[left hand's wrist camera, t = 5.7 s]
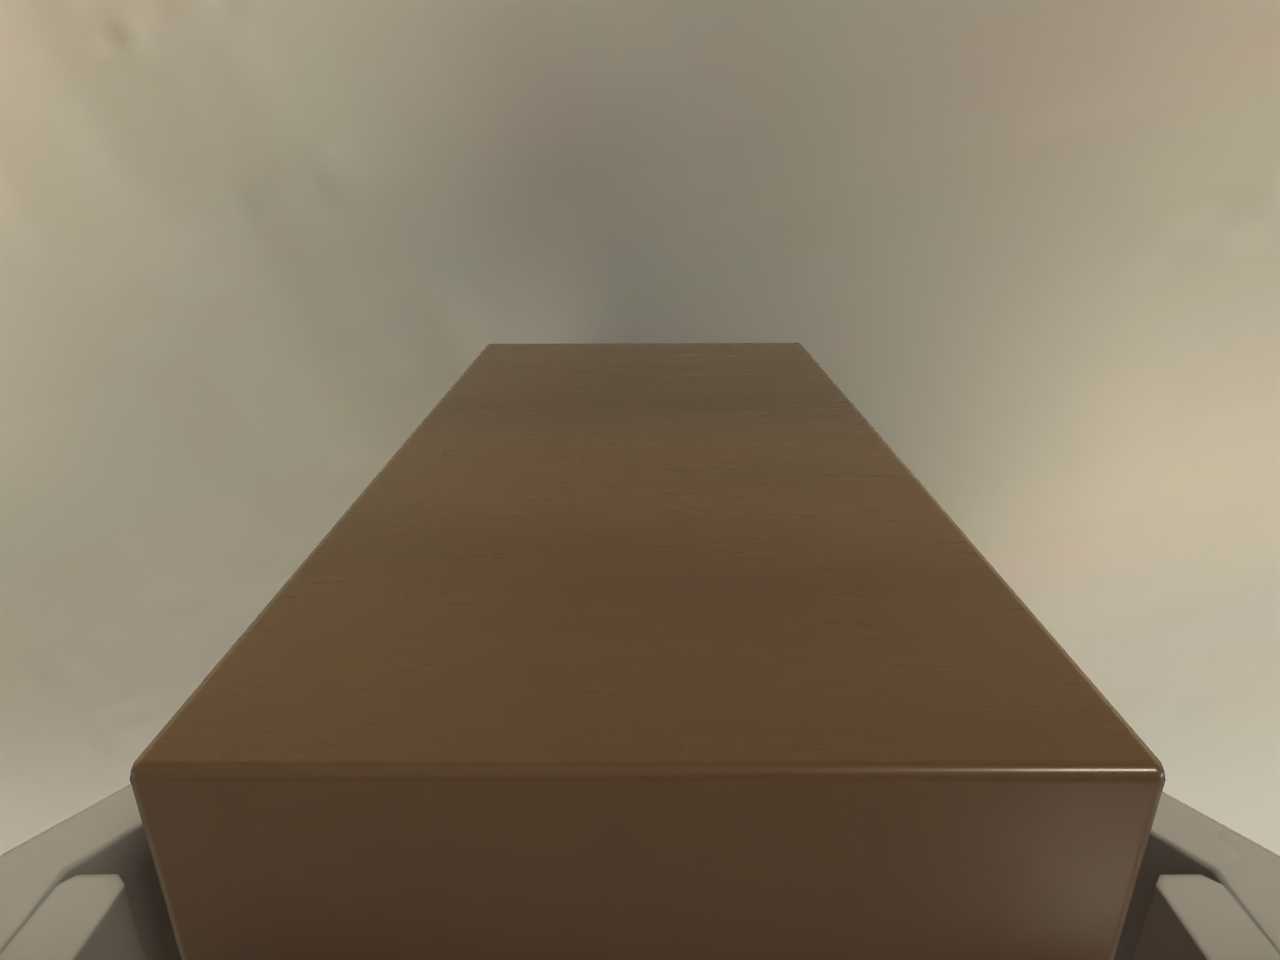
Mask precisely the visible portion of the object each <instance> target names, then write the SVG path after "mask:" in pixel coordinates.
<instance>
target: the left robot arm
mask: <svg viewBox="0 0 1280 960" xmlns="http://www.w3.org/2000/svg"><path fill="white" fill-rule="evenodd" d="M0 960H181V956H180V953H179V949H178V946H177V942H176V939H175V935H174V932H173V928H172V925H171V921H170V918H169V914H168V911H167V907H166V904H165V900H164V897H163V893H162V890H161V886H160V883H159V879H158V876H157V872H156V869H155V865H154V862H153V859H152V855H151V852H150V848H149V845H148V841H147V838H146V834H145V831H144V827H143V824H142V820H141V817H140V813H139V810H138V806H137V803H136V799H135V796H134V792H133V789H132V785H131V784H130V785H129V786H127V787H125V788H123V789H121V790H119V791H118V792H116V793H114V794H112V795H110V796H108V797H107V798H105V799H103V800H101V801H99V802H97V803H96V804H94V805H92V806H90V807H88V808H86V809H85V810H83V811H81V812H79V813H77V814H76V815H74V816H72V817H70V818H68V819H66V820H65V821H63V822H61V823H59V824H57V825H55V826H54V827H52V828H50V829H48V830H46V831H44V832H43V833H41V834H39V835H37V836H35V837H34V838H32V839H30V840H28V841H26V842H24V843H23V844H21V845H19V846H17V847H15V848H13V849H12V850H10V851H8V852H6V853H4V854H2V855H1V856H0ZM1114 960H1280V856H1279V855H1277V854H1275V853H1273V852H1271V851H1270V850H1268V849H1266V848H1264V847H1262V846H1260V845H1259V844H1257V843H1255V842H1253V841H1251V840H1250V839H1248V838H1246V837H1244V836H1242V835H1240V834H1239V833H1237V832H1235V831H1233V830H1231V829H1229V828H1228V827H1226V826H1224V825H1222V824H1220V823H1219V822H1217V821H1215V820H1213V819H1211V818H1209V817H1208V816H1206V815H1204V814H1202V813H1200V812H1199V811H1197V810H1195V809H1193V808H1191V807H1189V806H1188V805H1186V804H1184V803H1182V802H1180V801H1179V800H1177V799H1175V798H1173V797H1171V796H1169V795H1168V794H1166V793H1164V792H1162V793H1161V797H1160V800H1159V804H1158V807H1157V811H1156V814H1155V818H1154V821H1153V825H1152V828H1151V832H1150V835H1149V839H1148V842H1147V846H1146V849H1145V853H1144V856H1143V859H1142V863H1141V866H1140V870H1139V873H1138V877H1137V880H1136V884H1135V887H1134V891H1133V894H1132V898H1131V901H1130V905H1129V908H1128V912H1127V915H1126V919H1125V922H1124V925H1123V929H1122V932H1121V936H1120V939H1119V943H1118V946H1117V950H1116V953H1115V957H1114Z"/></svg>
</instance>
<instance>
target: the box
mask: <svg viewBox="0 0 1280 960" xmlns="http://www.w3.org/2000/svg"><path fill="white" fill-rule="evenodd" d="M130 782H131V785H132V789H133V792H134V796H135V799H136V803H137V806H138V810H139V813H140V817H141V820H142V824H143V827H144V831H145V834H146V838H147V841H148V845H149V848H150V852H151V855H152V859H153V862H154V865H155V869H156V872H157V876H158V879H159V883H160V886H161V890H162V893H163V897H164V900H165V904H166V907H167V911H168V914H169V918H170V921H171V925H172V928H173V932H174V935H175V939H176V942H177V946H178V949H179V953H180V956H181V960H1114V957H1115V953H1116V950H1117V946H1118V943H1119V939H1120V936H1121V932H1122V929H1123V925H1124V922H1125V919H1126V915H1127V912H1128V908H1129V905H1130V901H1131V898H1132V894H1133V891H1134V887H1135V884H1136V880H1137V877H1138V873H1139V870H1140V866H1141V863H1142V859H1143V856H1144V853H1145V849H1146V846H1147V842H1148V839H1149V835H1150V832H1151V828H1152V825H1153V821H1154V818H1155V814H1156V811H1157V807H1158V804H1159V800H1160V797H1161V793H1162V790H1163V786H1164V783H1165V774H1164V769H1163V766H1162V764H1161V762H1160V761H1159V760H1158V758H1157V757H1156V756H1155V755H1154V754H1153V753H1152V751H1151V750H1150V749H1149V748H1148V747H1147V746H1146V744H1145V743H1144V742H1143V741H1142V740H1141V739H1140V738H1139V736H1138V735H1137V734H1136V733H1135V732H1134V731H1133V729H1132V728H1131V727H1130V726H1129V725H1128V724H1127V722H1126V721H1125V720H1124V719H1123V718H1122V717H1121V715H1120V714H1119V713H1118V712H1117V711H1116V710H1115V709H1114V707H1113V706H1112V705H1111V704H1110V703H1109V702H1108V700H1107V699H1106V698H1105V697H1104V696H1103V695H1102V693H1101V692H1100V691H1099V690H1098V689H1097V688H1096V686H1095V685H1094V684H1093V683H1092V682H1091V681H1090V679H1089V678H1088V677H1087V676H1086V675H1085V674H1084V673H1083V671H1082V670H1081V669H1080V668H1079V667H1078V666H1077V664H1076V663H1075V662H1074V661H1073V660H1072V659H1071V657H1070V656H1069V655H1068V654H1067V653H1066V652H1065V650H1064V649H1063V648H1062V647H1061V646H1060V645H1059V643H1058V642H1057V641H1056V640H1055V639H1054V638H1053V637H1052V635H1051V634H1050V633H1049V632H1048V631H1047V630H1046V628H1045V627H1044V626H1043V625H1042V624H1041V623H1040V621H1039V620H1038V619H1037V618H1036V617H1035V616H1034V614H1033V613H1032V612H1031V611H1030V610H1029V609H1028V607H1027V606H1026V605H1025V604H1024V603H1023V602H1022V601H1021V599H1020V598H1019V597H1018V596H1017V595H1016V594H1015V592H1014V591H1013V590H1012V589H1011V588H1010V587H1009V585H1008V584H1007V583H1006V582H1005V581H1004V580H1003V578H1002V577H1001V576H1000V575H999V574H998V573H997V571H996V570H995V569H994V568H993V567H992V566H991V565H990V563H989V562H988V561H987V560H986V559H985V558H984V556H983V555H982V554H981V553H980V552H979V551H978V549H977V548H976V547H975V546H974V545H973V544H972V542H971V541H970V540H969V539H968V538H967V537H966V535H965V534H964V533H963V532H962V531H961V530H960V529H959V527H958V526H957V525H956V524H955V523H954V522H953V520H952V519H951V518H950V517H949V516H948V515H947V513H946V512H945V511H944V510H943V509H942V508H941V506H940V505H939V504H938V503H937V502H936V501H935V499H934V498H933V497H932V496H931V495H930V494H929V493H928V491H927V490H926V489H925V488H924V487H923V486H922V484H921V483H920V482H919V481H918V480H917V479H916V477H915V476H914V475H913V474H912V473H911V472H910V470H909V469H908V468H907V467H906V466H905V465H904V463H903V462H902V461H901V460H900V459H899V458H898V457H897V455H896V454H895V453H894V452H893V451H892V450H891V448H890V447H889V446H888V445H887V444H886V443H885V441H884V440H883V439H882V438H881V437H880V436H879V434H878V433H877V432H876V431H875V430H874V429H873V427H872V426H871V425H870V424H869V423H868V422H867V421H866V419H865V418H864V417H863V416H862V415H861V414H860V412H859V411H858V410H857V409H856V408H855V407H854V405H853V404H852V403H851V402H850V401H849V400H848V398H847V397H846V396H845V395H844V394H843V393H842V391H841V390H840V389H839V388H838V387H837V386H836V385H835V383H834V382H833V381H832V380H831V379H830V378H829V376H828V375H827V374H826V373H825V372H824V371H823V369H822V368H821V367H820V366H819V365H818V364H817V362H816V361H815V360H814V359H813V358H812V357H811V355H810V354H809V353H808V352H807V351H806V350H805V349H804V347H803V346H802V345H801V344H798V343H717V344H490V345H487V346H486V348H485V349H484V350H483V351H482V352H481V353H480V355H479V356H478V357H477V358H476V359H475V361H474V362H473V363H472V364H471V365H470V366H469V368H468V369H467V370H466V371H465V372H464V374H463V375H462V376H461V377H460V378H459V379H458V381H457V382H456V383H455V384H454V385H453V387H452V388H451V389H450V390H449V391H448V392H447V394H446V395H445V396H444V397H443V398H442V400H441V401H440V402H439V403H438V404H437V405H436V407H435V408H434V409H433V410H432V411H431V413H430V414H429V415H428V416H427V417H426V418H425V420H424V421H423V422H422V423H421V424H420V426H419V427H418V428H417V429H416V430H415V431H414V433H413V434H412V435H411V436H410V437H409V439H408V440H407V441H406V442H405V443H404V444H403V446H402V447H401V448H400V449H399V450H398V451H397V453H396V454H395V455H394V456H393V457H392V459H391V460H390V461H389V462H388V463H387V464H386V466H385V467H384V468H383V469H382V470H381V472H380V473H379V474H378V475H377V476H376V477H375V479H374V480H373V481H372V482H371V483H370V485H369V486H368V487H367V488H366V489H365V490H364V492H363V493H362V494H361V495H360V496H359V498H358V499H357V500H356V501H355V502H354V503H353V505H352V506H351V507H350V508H349V509H348V511H347V512H346V513H345V514H344V515H343V516H342V518H341V519H340V520H339V521H338V522H337V524H336V525H335V526H334V527H333V528H332V529H331V531H330V532H329V533H328V534H327V535H326V536H325V538H324V539H323V540H322V541H321V542H320V544H319V545H318V546H317V547H316V548H315V549H314V551H313V552H312V553H311V554H310V555H309V557H308V558H307V559H306V560H305V561H304V562H303V564H302V565H301V566H300V567H299V568H298V570H297V571H296V572H295V573H294V574H293V575H292V577H291V578H290V579H289V580H288V581H287V583H286V584H285V585H284V586H283V587H282V588H281V590H280V591H279V592H278V593H277V594H276V596H275V597H274V598H273V599H272V600H271V601H270V603H269V604H268V605H267V606H266V607H265V609H264V610H263V611H262V612H261V613H260V614H259V616H258V617H257V618H256V619H255V620H254V622H253V623H252V624H251V625H250V626H249V627H248V629H247V630H246V631H245V632H244V633H243V634H242V636H241V637H240V638H239V639H238V640H237V642H236V643H235V644H234V645H233V646H232V647H231V649H230V650H229V651H228V652H227V653H226V655H225V656H224V657H223V658H222V659H221V660H220V662H219V663H218V664H217V665H216V666H215V668H214V669H213V670H212V671H211V672H210V673H209V675H208V676H207V677H206V678H205V679H204V681H203V682H202V683H201V684H200V685H199V686H198V688H197V689H196V690H195V691H194V692H193V694H192V695H191V696H190V697H189V698H188V699H187V701H186V702H185V703H184V704H183V705H182V707H181V708H180V709H179V710H178V711H177V712H176V714H175V715H174V716H173V717H172V718H171V720H170V721H169V722H168V723H167V724H166V725H165V727H164V728H163V729H162V730H161V731H160V732H159V734H158V735H157V736H156V737H155V738H154V740H153V741H152V742H151V743H150V744H149V745H148V747H147V748H146V749H145V750H144V751H143V753H142V754H141V755H140V756H139V757H138V758H137V760H136V761H135V762H134V764H133V767H132V770H131V776H130Z"/></svg>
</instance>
